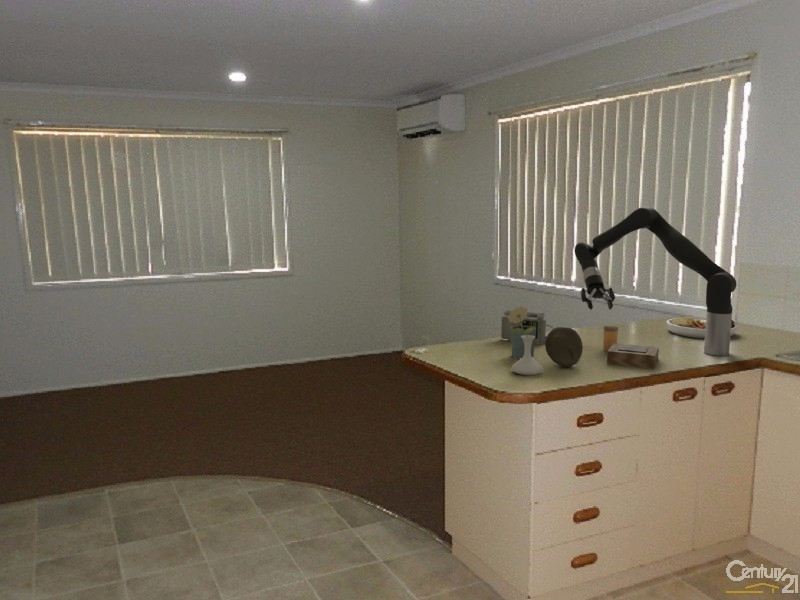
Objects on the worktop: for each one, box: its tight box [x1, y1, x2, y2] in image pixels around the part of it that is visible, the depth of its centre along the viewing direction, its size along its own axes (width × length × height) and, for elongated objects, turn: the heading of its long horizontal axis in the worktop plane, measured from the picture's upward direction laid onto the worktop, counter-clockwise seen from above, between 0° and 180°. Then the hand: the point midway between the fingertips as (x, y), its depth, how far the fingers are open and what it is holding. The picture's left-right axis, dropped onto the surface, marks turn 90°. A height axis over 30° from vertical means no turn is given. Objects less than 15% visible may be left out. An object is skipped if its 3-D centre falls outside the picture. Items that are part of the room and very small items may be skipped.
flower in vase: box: [508, 305, 544, 376], centre depth 226 cm, size 13×11×25 cm
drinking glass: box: [510, 326, 536, 359], centre depth 253 cm, size 10×10×12 cm
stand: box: [606, 342, 660, 370], centre depth 245 cm, size 17×16×5 cm
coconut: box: [544, 326, 584, 368], centre depth 238 cm, size 14×14×15 cm
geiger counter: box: [500, 309, 555, 345], centre depth 280 cm, size 14×6×25 cm
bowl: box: [666, 317, 738, 339], centre depth 298 cm, size 30×30×8 cm
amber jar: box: [602, 325, 619, 352], centre depth 264 cm, size 6×6×10 cm
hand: (601, 308), depth 274 cm, fingers open, 8 cm apart
